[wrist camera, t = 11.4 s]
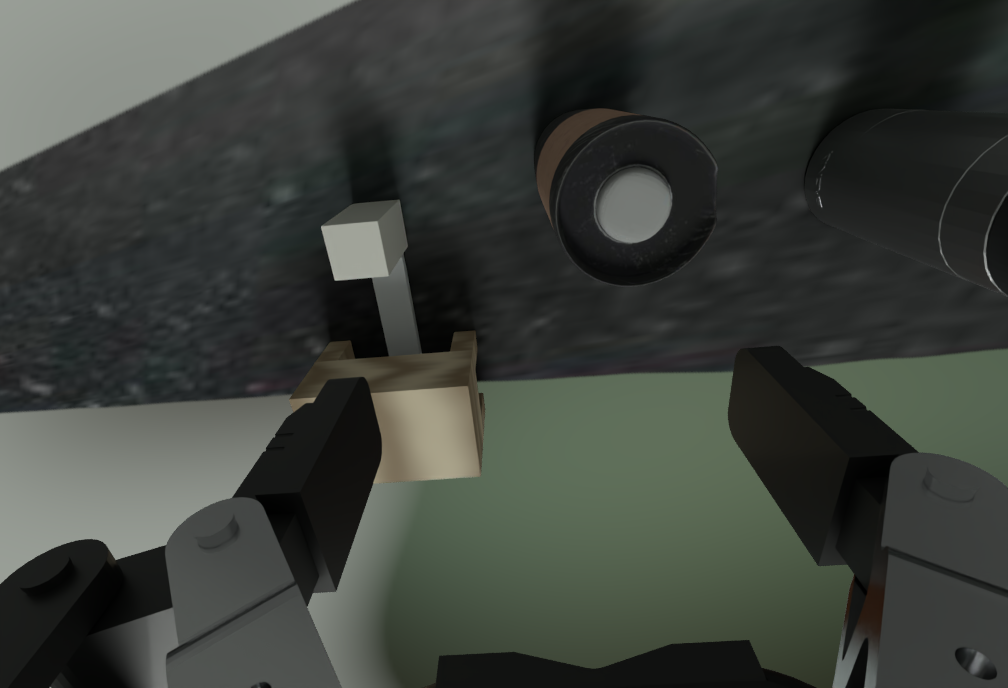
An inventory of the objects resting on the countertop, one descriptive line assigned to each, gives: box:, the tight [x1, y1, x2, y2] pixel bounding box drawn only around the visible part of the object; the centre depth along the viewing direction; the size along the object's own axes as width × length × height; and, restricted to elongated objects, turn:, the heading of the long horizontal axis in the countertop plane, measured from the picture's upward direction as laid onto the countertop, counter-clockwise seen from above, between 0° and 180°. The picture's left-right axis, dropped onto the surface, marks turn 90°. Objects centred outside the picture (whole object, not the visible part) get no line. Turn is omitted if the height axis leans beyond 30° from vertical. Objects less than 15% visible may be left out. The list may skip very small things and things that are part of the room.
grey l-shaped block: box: [321, 199, 422, 356], centre depth 42 cm, size 17×4×8 cm, turn 5°
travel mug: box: [534, 108, 718, 287], centre depth 31 cm, size 8×8×20 cm
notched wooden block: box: [289, 330, 485, 484], centre depth 44 cm, size 14×9×10 cm, turn 95°
